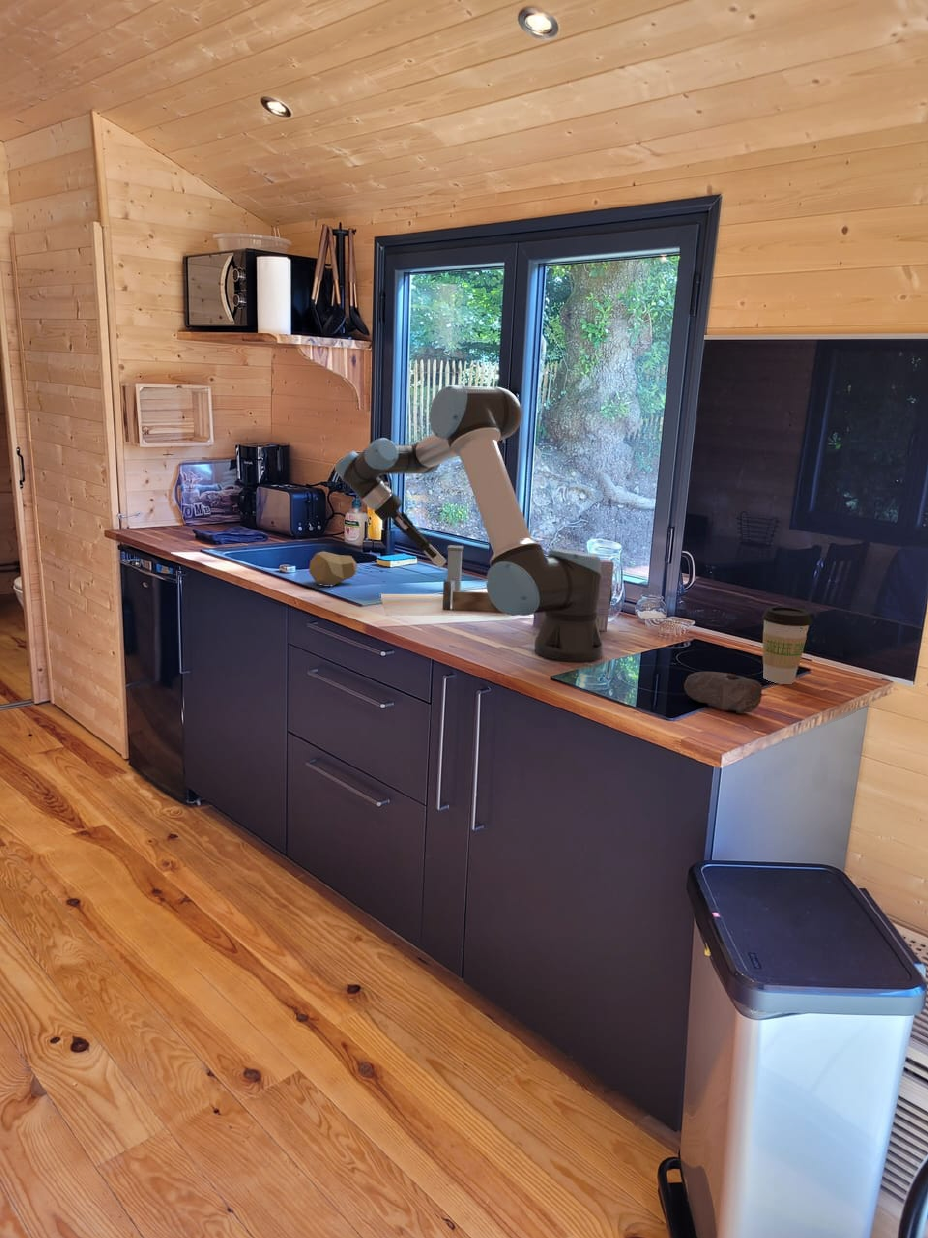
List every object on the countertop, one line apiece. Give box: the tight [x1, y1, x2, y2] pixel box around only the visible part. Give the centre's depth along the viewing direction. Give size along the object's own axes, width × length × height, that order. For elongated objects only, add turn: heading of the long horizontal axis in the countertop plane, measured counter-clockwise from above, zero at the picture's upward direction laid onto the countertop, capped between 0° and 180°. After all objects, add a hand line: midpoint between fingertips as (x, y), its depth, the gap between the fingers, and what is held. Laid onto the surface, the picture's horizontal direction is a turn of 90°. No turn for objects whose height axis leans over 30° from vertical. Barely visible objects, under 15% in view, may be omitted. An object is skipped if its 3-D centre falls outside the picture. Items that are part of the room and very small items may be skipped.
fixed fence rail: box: [442, 580, 505, 614], centre depth 239 cm, size 17×3×8 cm, turn 90°
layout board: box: [380, 593, 510, 617], centre depth 246 cm, size 24×34×1 cm
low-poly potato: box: [308, 551, 358, 586], centre depth 264 cm, size 15×11×12 cm
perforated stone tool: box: [683, 671, 763, 714], centre depth 175 cm, size 15×5×7 cm, turn 47°
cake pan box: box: [532, 559, 615, 632], centre depth 227 cm, size 19×5×18 cm, turn 99°
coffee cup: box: [761, 605, 813, 685], centre depth 193 cm, size 10×10×15 cm
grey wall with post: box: [446, 544, 464, 605], centre depth 247 cm, size 16×4×14 cm, turn 174°
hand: (442, 564), depth 252 cm, fingers closed
